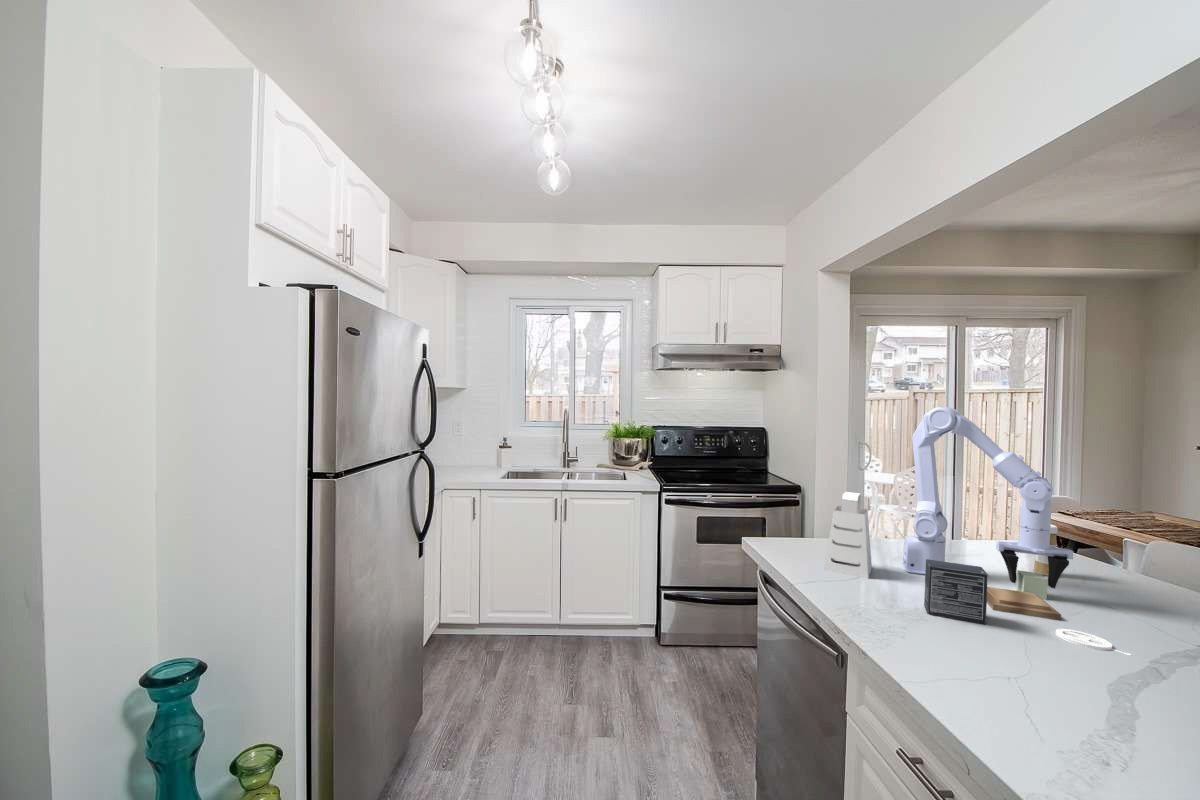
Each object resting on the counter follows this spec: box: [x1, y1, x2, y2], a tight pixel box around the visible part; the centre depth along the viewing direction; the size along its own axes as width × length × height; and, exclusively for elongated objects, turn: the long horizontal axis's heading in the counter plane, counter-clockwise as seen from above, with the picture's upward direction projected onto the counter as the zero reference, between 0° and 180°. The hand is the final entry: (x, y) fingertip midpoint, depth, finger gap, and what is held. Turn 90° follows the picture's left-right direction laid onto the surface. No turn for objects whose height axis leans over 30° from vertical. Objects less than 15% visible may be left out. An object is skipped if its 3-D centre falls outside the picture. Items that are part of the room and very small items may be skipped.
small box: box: [923, 559, 989, 625], centre depth 115 cm, size 11×6×10 cm, turn 65°
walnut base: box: [987, 586, 1062, 621], centre depth 122 cm, size 12×12×2 cm
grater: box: [823, 491, 873, 579], centre depth 143 cm, size 10×10×20 cm
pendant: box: [1055, 628, 1132, 657], centre depth 103 cm, size 7×11×1 cm, turn 37°
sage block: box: [1015, 569, 1048, 601], centre depth 129 cm, size 4×4×5 cm
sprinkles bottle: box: [1033, 524, 1059, 577], centre depth 146 cm, size 5×5×14 cm
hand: (1031, 584), depth 129 cm, fingers open, 7 cm apart
